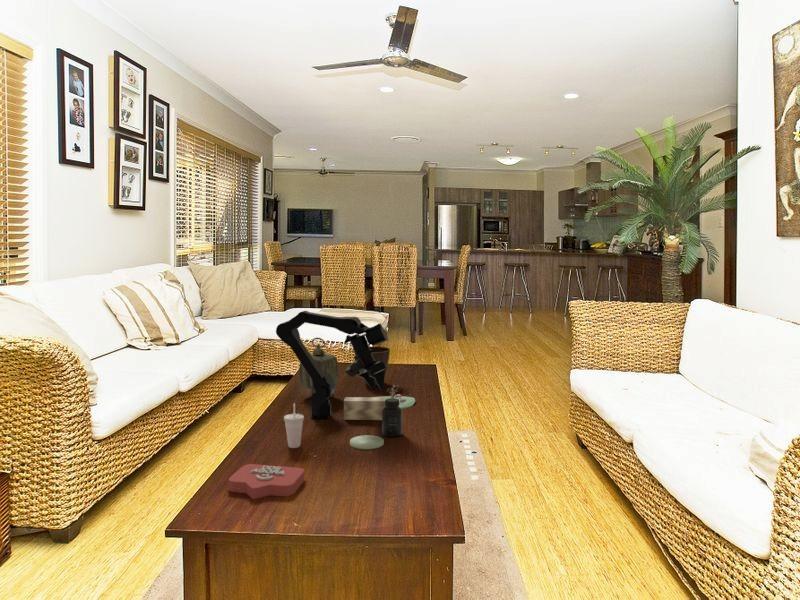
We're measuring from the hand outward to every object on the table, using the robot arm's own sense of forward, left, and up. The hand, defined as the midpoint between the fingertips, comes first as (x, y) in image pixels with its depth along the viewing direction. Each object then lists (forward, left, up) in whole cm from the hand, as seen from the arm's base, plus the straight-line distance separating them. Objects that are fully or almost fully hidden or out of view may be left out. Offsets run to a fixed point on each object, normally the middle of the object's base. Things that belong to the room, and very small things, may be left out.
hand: (377, 389), depth 210 cm
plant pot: (-4, +53, -11) cm, 55 cm away
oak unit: (-4, +2, -11) cm, 12 cm away
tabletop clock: (-26, +30, -11) cm, 42 cm away
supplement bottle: (+6, -16, -11) cm, 20 cm away
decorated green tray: (+2, +23, -12) cm, 26 cm away
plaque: (-27, -58, -12) cm, 65 cm away
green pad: (-2, -25, -11) cm, 27 cm away
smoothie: (-25, -28, -11) cm, 39 cm away
